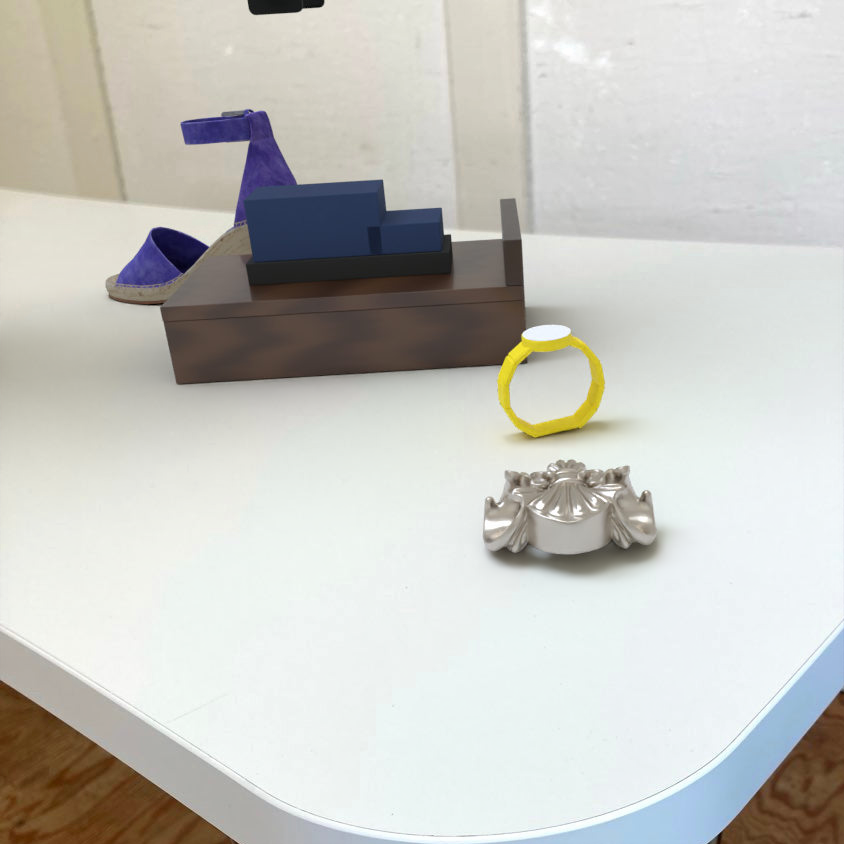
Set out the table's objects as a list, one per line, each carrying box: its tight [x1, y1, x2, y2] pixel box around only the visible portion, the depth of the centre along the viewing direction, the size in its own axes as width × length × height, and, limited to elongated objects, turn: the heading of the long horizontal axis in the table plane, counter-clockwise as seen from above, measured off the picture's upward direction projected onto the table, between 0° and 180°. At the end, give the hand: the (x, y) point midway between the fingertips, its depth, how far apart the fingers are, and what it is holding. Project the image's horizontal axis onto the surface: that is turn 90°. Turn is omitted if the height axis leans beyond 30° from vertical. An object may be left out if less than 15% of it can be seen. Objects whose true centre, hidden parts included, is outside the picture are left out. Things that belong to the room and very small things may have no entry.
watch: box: [496, 324, 606, 439], centre depth 60 cm, size 6×3×6 cm, turn 105°
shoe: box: [243, 179, 453, 285], centre depth 75 cm, size 14×6×6 cm, turn 91°
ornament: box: [482, 459, 657, 555], centre depth 49 cm, size 8×7×4 cm
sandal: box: [105, 108, 298, 305], centre depth 89 cm, size 8×20×15 cm, turn 64°
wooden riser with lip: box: [159, 197, 529, 385], centre depth 76 cm, size 24×14×8 cm, turn 91°
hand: (290, 10), depth 68 cm, fingers open, 9 cm apart
